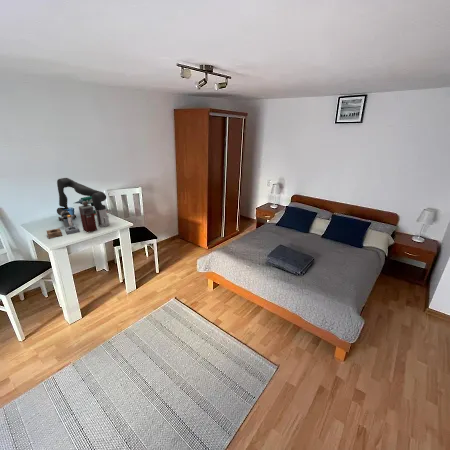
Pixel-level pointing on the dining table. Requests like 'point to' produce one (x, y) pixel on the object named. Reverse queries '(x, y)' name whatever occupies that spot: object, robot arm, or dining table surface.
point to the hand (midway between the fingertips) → (68, 219)
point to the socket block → (72, 230)
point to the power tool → (87, 199)
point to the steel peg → (70, 222)
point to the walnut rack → (54, 233)
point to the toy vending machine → (87, 217)
